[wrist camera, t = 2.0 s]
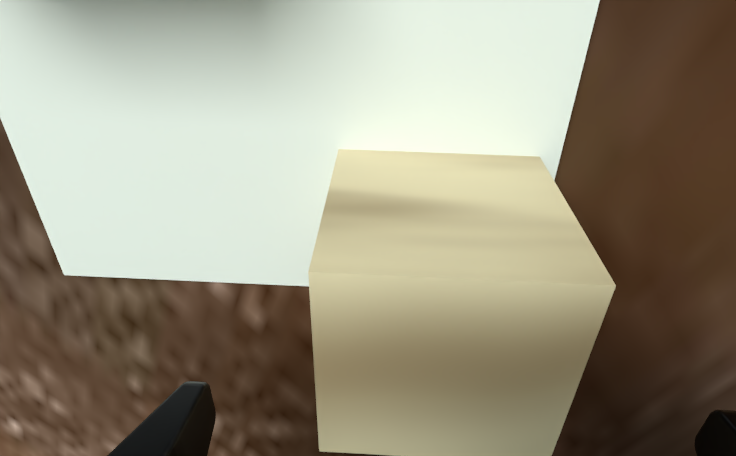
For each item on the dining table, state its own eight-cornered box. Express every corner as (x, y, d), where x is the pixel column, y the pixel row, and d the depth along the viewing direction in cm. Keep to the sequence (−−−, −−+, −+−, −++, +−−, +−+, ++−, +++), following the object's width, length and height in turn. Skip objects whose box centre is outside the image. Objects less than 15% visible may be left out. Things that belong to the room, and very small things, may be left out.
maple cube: (505, 308, 15) (548, 464, 11) (340, 300, 15) (319, 451, 11) (539, 156, 12) (615, 286, 8) (338, 149, 12) (308, 272, 8)
